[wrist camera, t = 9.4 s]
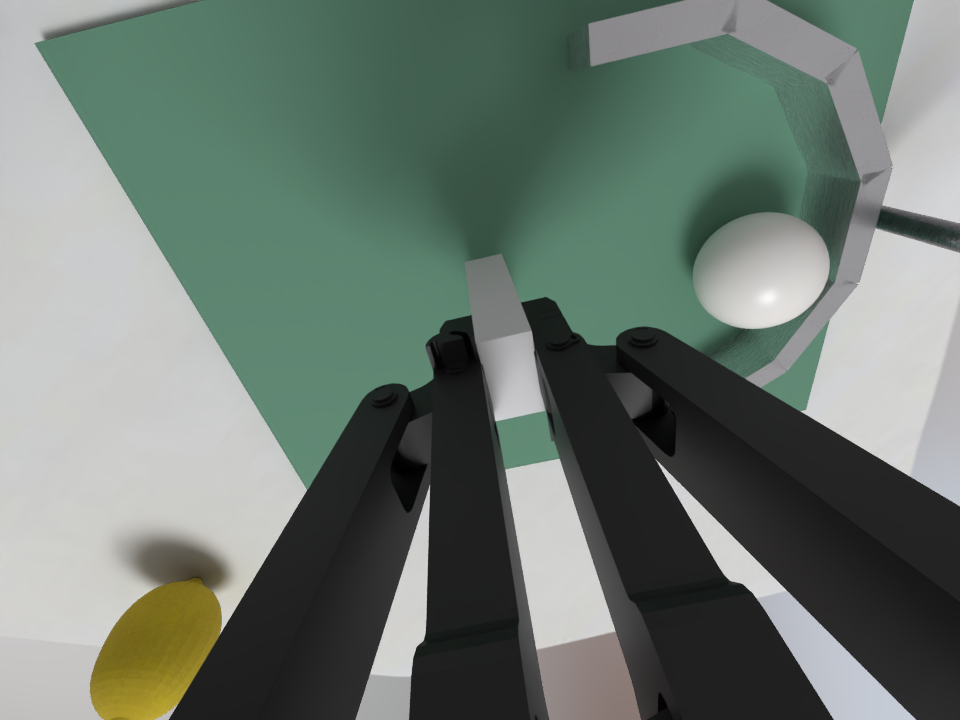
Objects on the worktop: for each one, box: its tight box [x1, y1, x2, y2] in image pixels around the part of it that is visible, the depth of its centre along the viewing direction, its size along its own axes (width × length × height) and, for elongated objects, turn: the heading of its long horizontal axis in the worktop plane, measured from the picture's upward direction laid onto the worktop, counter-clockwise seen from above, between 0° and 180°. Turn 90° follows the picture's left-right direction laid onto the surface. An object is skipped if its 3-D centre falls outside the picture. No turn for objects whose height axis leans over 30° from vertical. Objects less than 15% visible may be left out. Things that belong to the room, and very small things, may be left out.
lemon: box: [90, 578, 222, 720], centre depth 25 cm, size 6×6×8 cm
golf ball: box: [693, 212, 830, 329], centre depth 16 cm, size 4×4×4 cm
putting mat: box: [35, 0, 914, 490], centre depth 18 cm, size 22×28×1 cm
